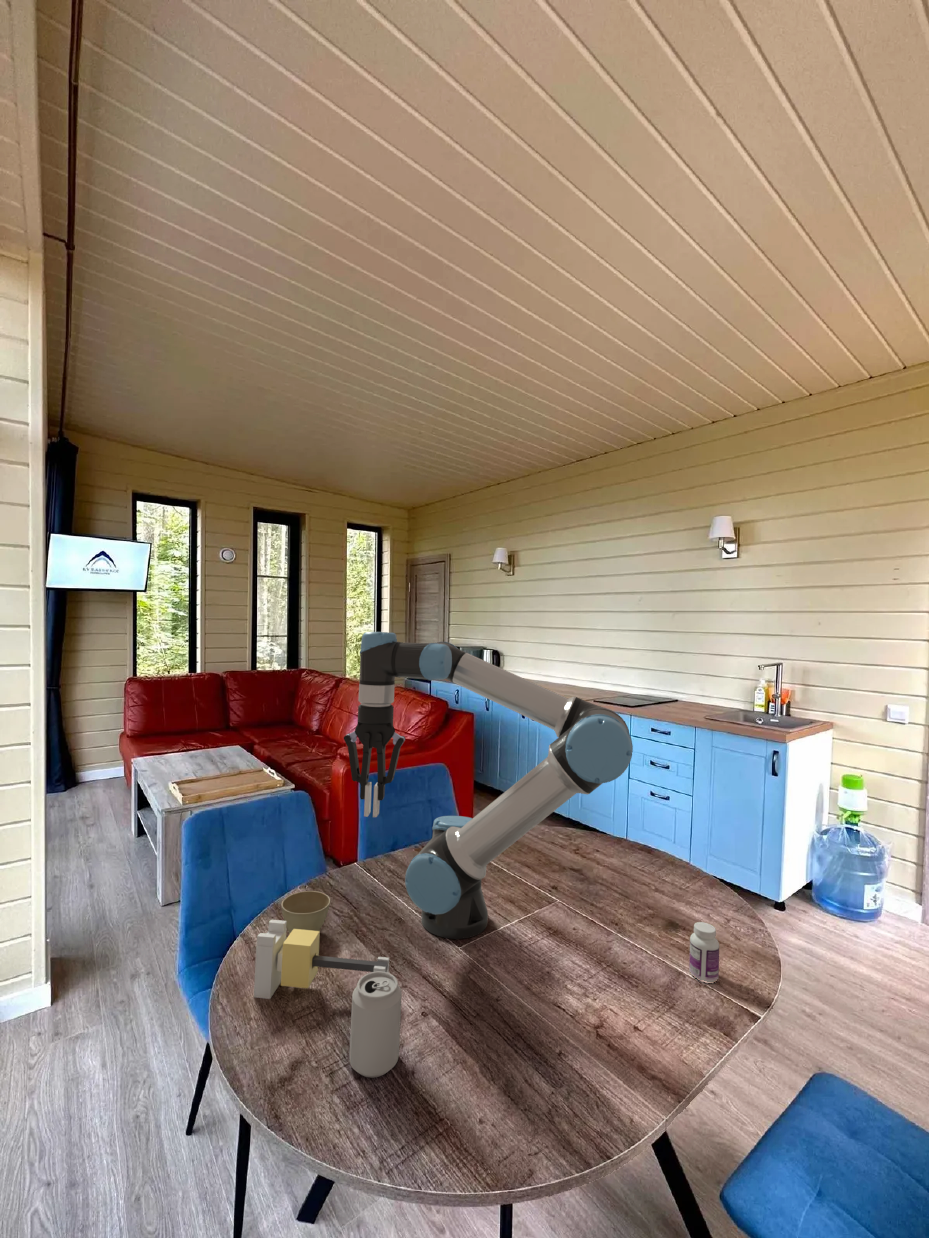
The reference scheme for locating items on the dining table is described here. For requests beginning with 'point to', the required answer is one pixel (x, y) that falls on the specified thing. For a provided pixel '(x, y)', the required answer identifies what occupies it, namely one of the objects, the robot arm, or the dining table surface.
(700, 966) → the pill bottle
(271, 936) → the linear slide mechanism
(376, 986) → the can
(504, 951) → the dining table surface
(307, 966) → the sleeve
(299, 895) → the flower pot
